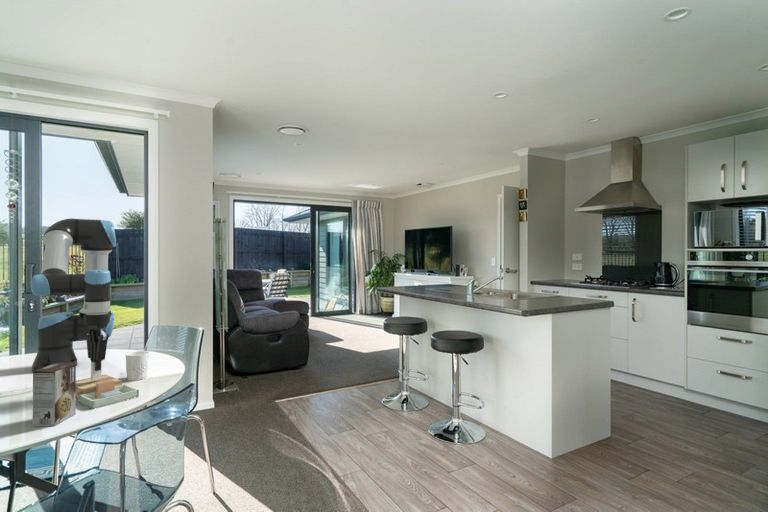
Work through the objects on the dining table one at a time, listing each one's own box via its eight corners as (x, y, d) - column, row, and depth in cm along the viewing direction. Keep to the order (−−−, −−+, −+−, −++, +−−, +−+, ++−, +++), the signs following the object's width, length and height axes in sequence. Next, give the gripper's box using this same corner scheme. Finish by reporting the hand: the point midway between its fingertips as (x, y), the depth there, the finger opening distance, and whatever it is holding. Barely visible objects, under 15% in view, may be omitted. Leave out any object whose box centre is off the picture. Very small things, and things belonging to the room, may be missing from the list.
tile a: (95, 383, 138) (98, 384, 136) (112, 379, 142) (114, 380, 141) (95, 397, 138) (98, 398, 136) (111, 393, 142) (114, 394, 141)
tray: (79, 402, 134) (79, 395, 134) (124, 391, 146) (125, 384, 146) (92, 409, 129) (92, 401, 129) (138, 396, 140) (138, 389, 140)
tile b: (106, 396, 133) (106, 402, 133) (122, 392, 137) (122, 398, 137) (99, 393, 136) (99, 399, 136) (115, 389, 140) (115, 395, 140)
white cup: (137, 382, 156) (137, 356, 156) (120, 380, 158) (120, 355, 158) (152, 376, 164) (153, 351, 164) (136, 374, 166) (136, 350, 166)
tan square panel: (67, 393, 142) (67, 382, 142) (105, 385, 152) (105, 374, 152) (82, 401, 135) (83, 389, 135) (121, 391, 145) (122, 380, 145)
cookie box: (54, 414, 124) (55, 362, 124) (76, 414, 125) (77, 362, 125) (30, 426, 115) (31, 370, 115) (54, 426, 116) (55, 370, 116)
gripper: (76, 312, 144) (75, 378, 144) (93, 316, 137) (92, 385, 137) (100, 310, 150) (99, 373, 150) (117, 313, 143) (116, 379, 143)
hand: (96, 379), depth 143 cm, fingers closed
